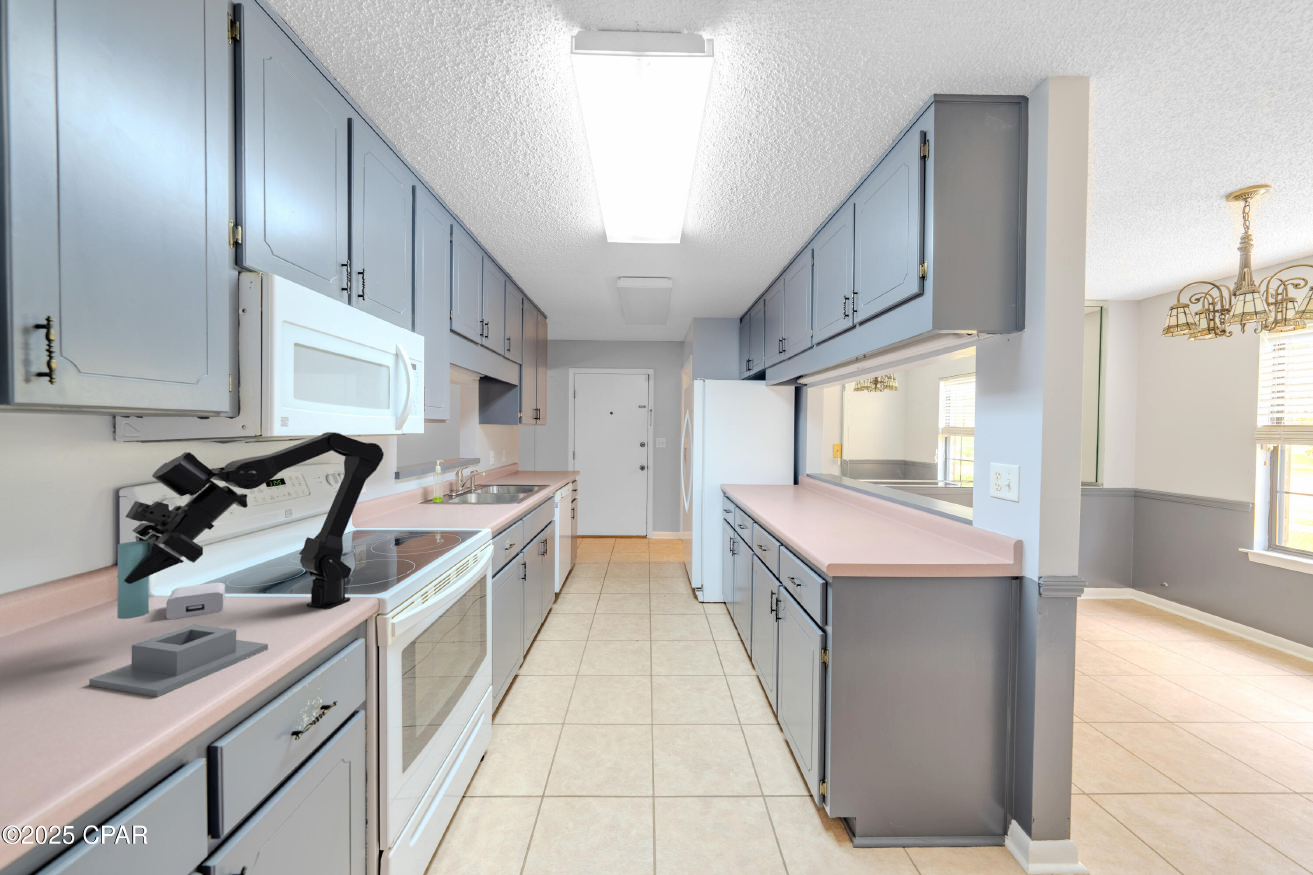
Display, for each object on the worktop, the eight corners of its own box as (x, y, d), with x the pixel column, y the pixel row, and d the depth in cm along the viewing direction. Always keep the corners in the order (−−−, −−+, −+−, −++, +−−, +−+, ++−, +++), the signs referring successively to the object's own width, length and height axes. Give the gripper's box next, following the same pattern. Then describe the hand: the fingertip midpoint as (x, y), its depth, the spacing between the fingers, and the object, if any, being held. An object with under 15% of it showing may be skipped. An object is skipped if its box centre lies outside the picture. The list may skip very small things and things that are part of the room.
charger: (226, 594, 128) (222, 612, 116) (175, 601, 123) (166, 620, 111) (226, 575, 128) (222, 591, 116) (175, 581, 123) (166, 598, 111)
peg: (135, 610, 97) (135, 540, 97) (154, 611, 97) (155, 541, 96) (110, 618, 93) (111, 545, 93) (130, 619, 93) (131, 546, 92)
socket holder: (208, 641, 101) (208, 615, 100) (267, 649, 98) (268, 622, 97) (89, 685, 83) (89, 653, 83) (157, 696, 80) (157, 664, 80)
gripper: (147, 481, 103) (63, 547, 94) (180, 488, 93) (90, 563, 84) (198, 515, 110) (124, 580, 100) (234, 526, 99) (156, 599, 90)
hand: (122, 580), depth 93 cm, fingers closed on peg, 4 cm apart
